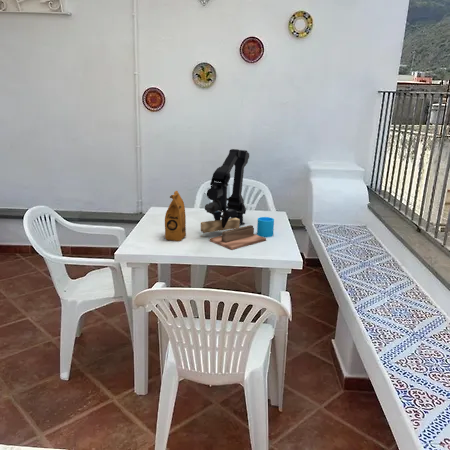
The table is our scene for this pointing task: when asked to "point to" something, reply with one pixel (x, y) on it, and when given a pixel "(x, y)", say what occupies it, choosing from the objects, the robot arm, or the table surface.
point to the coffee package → (175, 219)
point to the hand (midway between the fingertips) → (220, 226)
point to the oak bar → (219, 225)
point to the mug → (265, 227)
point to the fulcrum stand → (238, 238)
